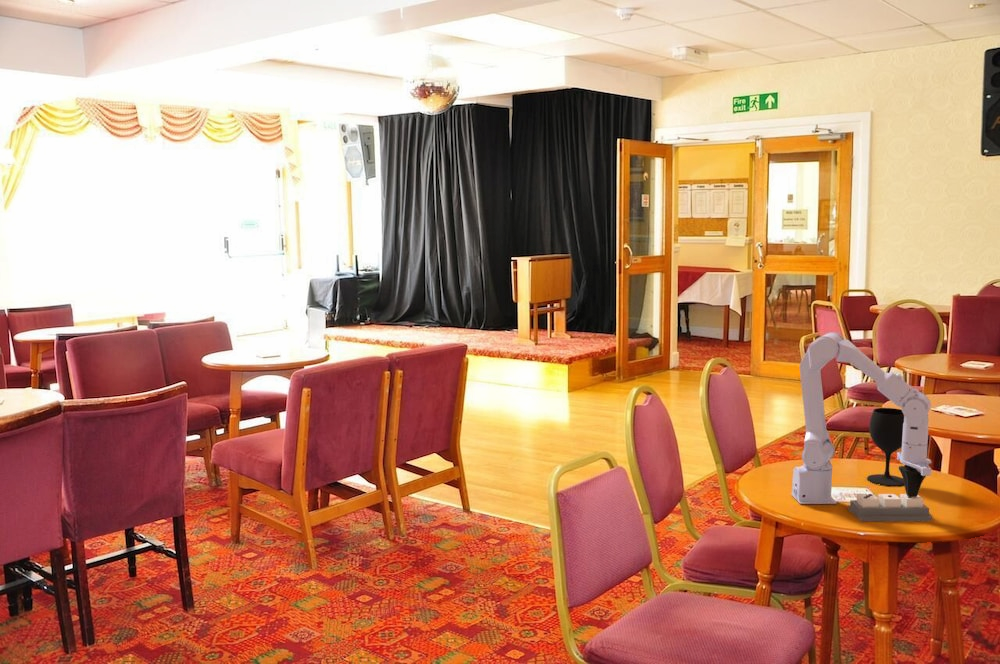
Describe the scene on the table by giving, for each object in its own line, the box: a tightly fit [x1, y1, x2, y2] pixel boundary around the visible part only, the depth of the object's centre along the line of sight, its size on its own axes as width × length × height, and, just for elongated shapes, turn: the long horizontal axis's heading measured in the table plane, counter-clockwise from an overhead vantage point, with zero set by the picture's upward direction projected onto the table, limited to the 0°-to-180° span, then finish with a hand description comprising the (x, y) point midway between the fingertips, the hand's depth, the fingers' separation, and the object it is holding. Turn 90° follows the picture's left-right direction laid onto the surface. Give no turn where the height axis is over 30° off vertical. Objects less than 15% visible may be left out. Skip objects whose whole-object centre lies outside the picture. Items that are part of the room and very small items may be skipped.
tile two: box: [899, 493, 924, 507], centre depth 224 cm, size 4×4×3 cm
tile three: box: [856, 493, 879, 507], centre depth 224 cm, size 4×4×3 cm
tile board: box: [847, 499, 933, 522], centre depth 225 cm, size 17×9×3 cm, turn 89°
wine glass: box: [866, 407, 905, 487], centre depth 251 cm, size 10×10×20 cm
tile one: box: [877, 493, 901, 507], centre depth 224 cm, size 4×4×3 cm
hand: (911, 495), depth 224 cm, fingers closed
